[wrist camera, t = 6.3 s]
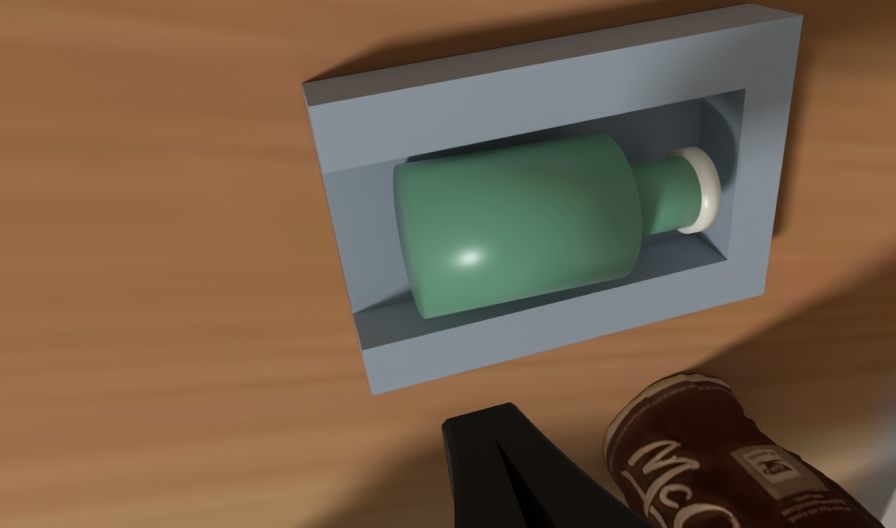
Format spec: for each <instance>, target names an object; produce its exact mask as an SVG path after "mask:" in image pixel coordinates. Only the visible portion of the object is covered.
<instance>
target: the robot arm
mask: <svg viewBox="0 0 896 528" xmlns="http://www.w3.org/2000/svg"><path fill="white" fill-rule="evenodd" d="M441 426H442V432H443V439H444V445H445V451H446V458H447V464H448V470H449V477H450V483H451V489H452V495H453V498H454V510H455V526H454V528H656V527H654V526H653V525H651V524H650V523H648V522H647V521H646V520H644V519H643V518H641V517H640V516H639V515H637V514H636V513H635V512H633V511H632V510H631V509H629V508H628V507H627V506H625V505H624V504H623V503H622V502H620V501H619V500H618V499H616V498H615V497H614V496H613V495H611V494H610V493H609V492H607V491H606V490H605V489H604V488H603V487H601V486H600V485H599V484H598V483H596V482H595V481H594V480H593V479H592V478H591V477H589V476H588V475H587V474H586V473H585V472H584V471H583V470H581V469H580V468H579V467H578V466H577V465H576V464H574V463H573V462H572V461H571V460H570V459H569V458H568V457H567V456H565V455H564V454H563V453H562V452H561V451H560V450H559V449H558V448H557V447H556V446H555V445H554V444H553V443H552V442H551V441H550V440H548V439H547V438H546V437H545V436H544V435H543V434H542V433H541V432H540V431H539V430H538V429H537V428H536V427H535V426H534V425H533V424H532V423H531V422H530V421H529V419H528V418H527V417H526V416H525V415H524V414H523V413H522V412H521V411H520V410H519V409H518V408H517V407H516V406H515V405H514V404H512V403H510V402H509V403H505V404H501V405H498V406H494V407H490V408H486V409H483V410H479V411H475V412H471V413H468V414H464V415H460V416H457V417H453V418H449V419H446V421H445V422H444V423H443V424H442V425H441Z"/></svg>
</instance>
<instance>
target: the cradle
mask: <svg viewBox="0 0 896 528" xmlns="http://www.w3.org/2000/svg"><path fill="white" fill-rule="evenodd" d="M802 21H803V15H801V14H797V13H792V12H788V11H783V10H779V9H774V8H770V7H765V6H761V5H756V4H752V3H747V4H742V5H736V6H731V7H725V8H720V9H714V10H708V11H703V12H697V13H692V14H686V15H681V16H675V17H670V18H664V19H658V20H653V21H647V22H642V23H636V24H631V25H625V26H619V27H614V28H608V29H603V30H597V31H592V32H586V33H580V34H575V35H569V36H564V37H558V38H553V39H547V40H541V41H536V42H530V43H525V44H519V45H514V46H508V47H502V48H497V49H491V50H486V51H480V52H475V53H469V54H463V55H458V56H452V57H447V58H441V59H436V60H430V61H424V62H419V63H413V64H408V65H402V66H397V67H391V68H385V69H380V70H374V71H369V72H363V73H358V74H352V75H346V76H341V77H335V78H330V79H324V80H319V81H313V82H308V83H302V88H303V92H304V97H305V101H306V106H307V110H308V115H309V119H310V124H311V128H312V133H313V137H314V142H315V146H316V151H317V155H318V160H319V164H320V169H321V173H322V178H323V182H324V187H325V191H326V196H327V200H328V205H329V209H330V214H331V218H332V223H333V227H334V232H335V236H336V241H337V245H338V250H339V254H340V259H341V263H342V268H343V272H344V277H345V281H346V286H347V290H348V295H349V299H350V304H351V308H352V313H353V317H354V322H355V326H356V331H357V335H358V340H359V344H360V349H361V353H362V357H363V361H364V365H365V369H366V373H367V377H368V381H369V385H370V389H371V393H372V396H373V395H377V394H380V393H384V392H388V391H392V390H396V389H400V388H404V387H407V386H411V385H415V384H419V383H423V382H427V381H431V380H434V379H438V378H442V377H446V376H450V375H454V374H458V373H461V372H465V371H469V370H473V369H477V368H481V367H485V366H488V365H492V364H496V363H500V362H504V361H508V360H512V359H515V358H519V357H523V356H527V355H531V354H535V353H539V352H542V351H546V350H550V349H554V348H558V347H562V346H566V345H569V344H573V343H577V342H581V341H585V340H589V339H593V338H596V337H600V336H604V335H608V334H612V333H616V332H620V331H623V330H627V329H631V328H635V327H639V326H643V325H647V324H650V323H654V322H658V321H662V320H666V319H670V318H674V317H677V316H681V315H685V314H689V313H693V312H697V311H701V310H704V309H708V308H712V307H716V306H720V305H724V304H728V303H731V302H735V301H739V300H743V299H747V298H751V297H755V296H758V295H762V294H764V287H765V280H766V273H767V266H768V259H769V252H770V245H771V238H772V231H773V224H774V217H775V210H776V203H777V196H778V189H779V182H780V175H781V168H782V161H783V154H784V147H785V140H786V133H787V126H788V119H789V112H790V105H791V98H792V91H793V84H794V77H795V70H796V63H797V56H798V49H799V42H800V35H801V28H802ZM593 132H602V133H605V134H607V135H609V136H610V137H611V138H613V139H614V140H615V142H616V143H617V144H618V145H619V147H620V148H621V149H622V151H623V153H624V154H625V156H626V158H627V160H628V162H629V164H634V163H639V162H645V161H651V160H656V159H662V158H665V156H666V155H667V154H668V153H669V152H670V151H672V150H675V149H681V148H686V147H697V148H699V149H701V150H703V151H704V152H705V153H706V154H707V155H708V156H709V158H710V159H711V161H712V162H713V164H714V166H715V168H716V171H717V174H718V177H719V181H720V186H721V207H720V212H719V215H718V218H717V220H716V222H715V223H714V225H713V226H712V227H711V228H709V229H707V230H704V231H700V232H695V233H690V234H685V233H682V232H680V231H678V230H677V229H676V230H671V231H666V232H661V233H656V234H651V235H646V236H642V241H641V248H640V253H639V257H638V260H637V263H636V265H635V267H634V269H633V270H632V271H631V273H630V274H628V275H627V276H625V277H623V278H619V279H614V280H609V281H604V282H600V283H595V284H590V285H585V286H580V287H576V288H571V289H566V290H561V291H557V292H552V293H547V294H542V295H537V296H533V297H528V298H523V299H518V300H513V301H509V302H504V303H499V304H494V305H489V306H485V307H480V308H475V309H470V310H465V311H461V312H456V313H451V314H446V315H441V316H437V317H432V318H427V319H424V318H423V317H422V316H421V314H420V312H419V310H418V308H417V306H416V303H415V300H414V297H413V294H412V291H411V288H410V284H409V280H408V277H407V273H406V268H405V264H404V260H403V255H402V250H401V245H400V240H399V234H398V228H397V221H396V214H395V206H394V195H393V171H394V167H395V165H398V164H405V163H411V162H417V161H423V160H429V159H435V158H441V157H447V156H453V155H459V154H465V153H471V152H477V151H484V150H490V149H496V148H502V147H508V146H514V145H520V144H526V143H532V142H538V141H544V140H550V139H556V138H563V137H569V136H575V135H581V134H587V133H593Z"/></svg>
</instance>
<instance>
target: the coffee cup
mask: <svg viewBox="0 0 896 528" xmlns="http://www.w3.org/2000/svg"><path fill="white" fill-rule="evenodd" d="M604 457H605V461H606V465H607V468H608V470H609V472H610V474H611V476H612V478H613V480H614V481H615V483H616V484H617V485H618V487H619V488H620V489H621V491H622V492H623V494H624V496H625V499H626V501H627V504H628V506H629V508H630V509H631V510H632V511H633V512H635V513H636V514H637V515H639V516H640V517H641V518H643V519H644V520H646V521H647V522H648V523H650V524H651V525H653V526H654V527H656V528H885V527H884V526H883V525H882V523H881V522H879V521H878V520H877V519H876V518H875V517H874V516H873V515H872V514H870V513H869V512H868V511H867V510H866V509H865V508H864V507H863V506H862V505H861V504H860V503H859V502H858V501H857V500H856V499H855V498H854V497H853V496H851V495H850V494H849V493H848V492H847V491H845V490H844V489H843V488H842V487H841V486H840V485H839V484H837V483H836V482H834V481H833V480H831V479H830V478H828V477H827V476H825V475H824V474H823V473H822V472H820V471H819V470H817V469H816V468H814V467H813V466H811V465H810V464H808V463H806V462H805V461H803V460H802V459H801V457H800V456H799V455H797V454H795V453H793V452H790V451H787V450H786V449H784V448H782V447H780V446H778V445H776V444H775V443H774V442H773V441H772V440H771V439H770V438H768V437H767V436H766V435H765V434H763V433H762V432H760V430H759V429H758V428H757V427H756V424H755V422H754V421H753V420H751V419H748V418H747V417H746V416H745V415H744V412H743V408H742V407H741V405H740V404H739V402H738V401H737V399H736V397H735V396H734V394H733V393H732V391H731V388H730V386H729V385H728V384H726V383H725V382H724V381H723V380H721V379H718V378H711V377H705V376H702V374H693V375H688V376H687V375H682V374H680V375H676V376H674V377H671V378H667V379H664V380H661V381H659V382H657V383H655V384H653V385H651V386H650V387H648V388H647V389H646V390H644V391H643V392H642V393H641V394H640V395H639V396H637V397H636V398H635V399H634V400H632V401H631V402H630V403H629V404H628V405H627V406H626V407H625V408H624V409H623V410H622V411H621V412H620V413H619V414H618V415H617V417H616V418H615V420H614V421H613V422H612V423H611V425H610V426H609V428H608V430H607V432H606V435H605V440H604Z"/></svg>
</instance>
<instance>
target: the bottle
mask: <svg viewBox="0 0 896 528" xmlns="http://www.w3.org/2000/svg"><path fill="white" fill-rule="evenodd" d="M393 195H394V206H395V214H396V221H397V228H398V234H399V240H400V245H401V250H402V255H403V260H404V264H405V268H406V273H407V277H408V280H409V284H410V288H411V291H412V294H413V297H414V300H415V303H416V306H417V308H418V310H419V312H420V314H421V316H422V317H423V318H424V319H427V318H432V317H437V316H441V315H446V314H451V313H456V312H461V311H465V310H470V309H475V308H480V307H485V306H489V305H494V304H499V303H504V302H509V301H513V300H518V299H523V298H528V297H533V296H537V295H542V294H547V293H552V292H557V291H561V290H566V289H571V288H576V287H580V286H585V285H590V284H595V283H600V282H604V281H609V280H614V279H619V278H623V277H625V276H627V275H628V274H630V273H631V271H632V270H633V269H634V267H635V265H636V263H637V260H638V257H639V253H640V248H641V241H642V236H646V235H651V234H656V233H661V232H666V231H671V230H676V229H677V230H678V231H680V232H682V233H685V234H690V233H695V232H700V231H704V230H707V229H709V228H711V227H712V226H713V225H714V223H715V222H716V220H717V218H718V215H719V212H720V207H721V186H720V181H719V177H718V174H717V171H716V168H715V166H714V164H713V162H712V161H711V159H710V158H709V156H708V155H707V154H706V153H705V152H704V151H703V150H701V149H699V148H697V147H686V148H681V149H675V150H672V151H670V152H669V153H668V154H667V155H666V156H665V158H662V159H656V160H651V161H645V162H639V163H634V164H629V162H628V160H627V158H626V156H625V154H624V153H623V151H622V149H621V148H620V147H619V145H618V144H617V143H616V142H615V140H614V139H613V138H611V137H610V136H609V135H607V134H605V133H602V132H593V133H587V134H581V135H575V136H569V137H563V138H556V139H550V140H544V141H538V142H532V143H526V144H520V145H514V146H508V147H502V148H496V149H490V150H484V151H477V152H471V153H465V154H459V155H453V156H447V157H441V158H435V159H429V160H423V161H417V162H411V163H405V164H398V165H395V167H394V171H393Z"/></svg>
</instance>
